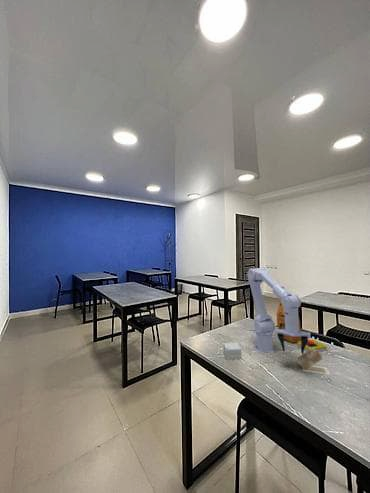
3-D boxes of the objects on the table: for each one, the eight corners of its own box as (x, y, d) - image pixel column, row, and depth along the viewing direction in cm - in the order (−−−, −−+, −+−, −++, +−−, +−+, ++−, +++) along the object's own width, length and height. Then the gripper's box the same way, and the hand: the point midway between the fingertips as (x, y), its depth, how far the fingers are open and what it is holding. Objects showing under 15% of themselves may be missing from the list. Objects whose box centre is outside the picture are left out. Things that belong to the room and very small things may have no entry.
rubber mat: (281, 373, 94) (281, 371, 94) (280, 357, 107) (280, 356, 107) (335, 382, 86) (335, 381, 86) (326, 364, 99) (326, 363, 99)
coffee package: (290, 344, 120) (289, 305, 121) (275, 336, 132) (273, 300, 132) (304, 341, 123) (302, 303, 124) (288, 333, 135) (286, 299, 135)
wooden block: (298, 362, 96) (315, 351, 93) (297, 357, 99) (313, 347, 97) (305, 369, 95) (322, 359, 92) (304, 365, 98) (320, 354, 96)
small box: (238, 351, 115) (237, 342, 115) (241, 359, 107) (241, 349, 107) (223, 352, 115) (223, 342, 115) (226, 359, 107) (225, 349, 107)
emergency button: (293, 339, 118) (316, 336, 121) (294, 347, 118) (317, 344, 121) (306, 347, 109) (331, 343, 112) (306, 355, 108) (331, 352, 112)
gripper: (274, 323, 98) (276, 353, 97) (311, 326, 92) (312, 358, 92) (274, 318, 104) (275, 346, 104) (308, 321, 99) (309, 350, 98)
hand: (292, 351), depth 98 cm, fingers open, 7 cm apart
